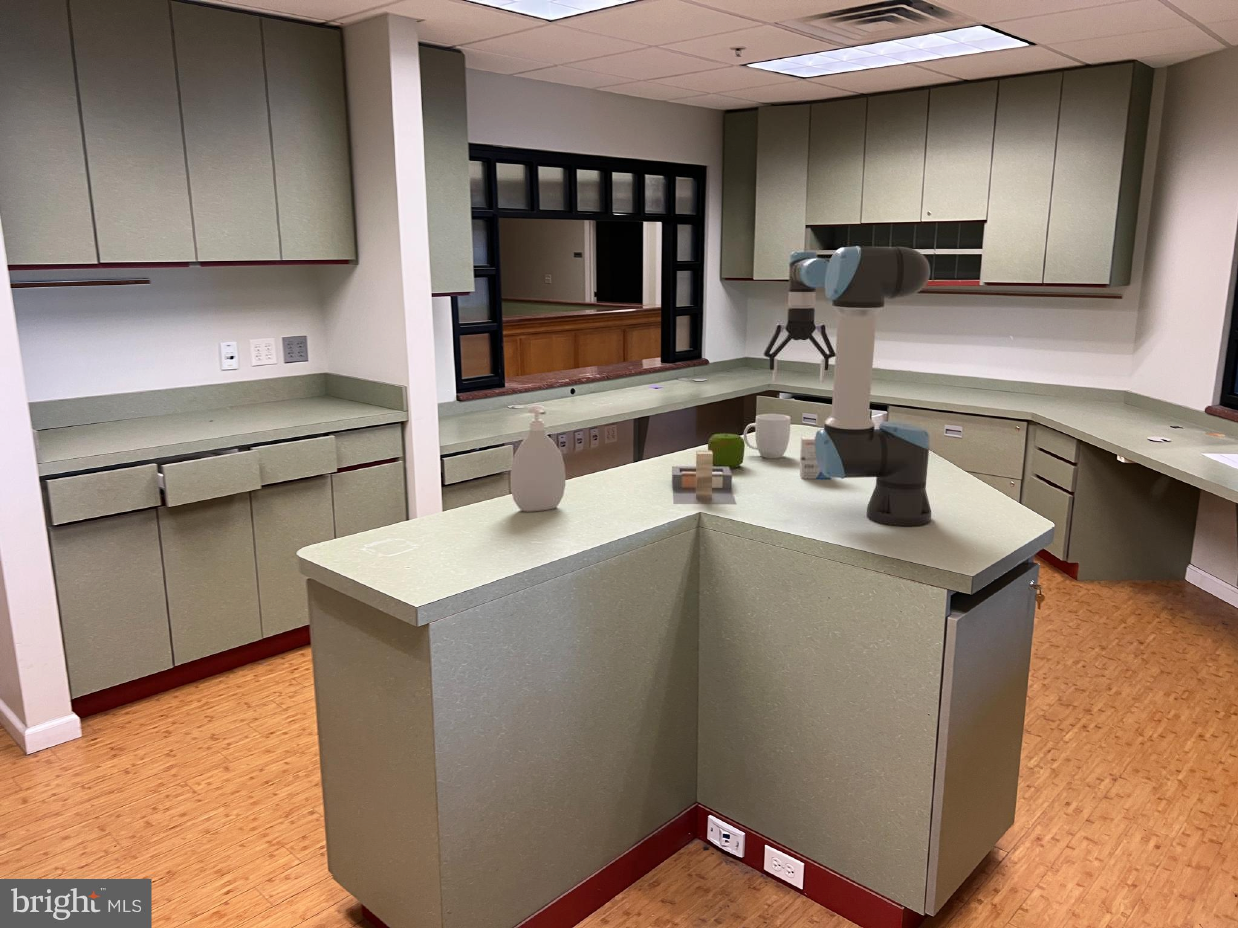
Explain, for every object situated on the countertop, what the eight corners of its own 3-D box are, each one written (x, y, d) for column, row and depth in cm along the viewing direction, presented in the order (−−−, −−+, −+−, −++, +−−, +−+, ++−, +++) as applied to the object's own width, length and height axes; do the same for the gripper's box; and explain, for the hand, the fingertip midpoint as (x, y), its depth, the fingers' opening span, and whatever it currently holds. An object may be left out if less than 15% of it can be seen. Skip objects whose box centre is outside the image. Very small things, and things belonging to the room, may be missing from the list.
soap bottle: (517, 517, 217) (514, 409, 211) (507, 509, 224) (504, 404, 218) (572, 510, 223) (570, 405, 217) (561, 502, 230) (559, 400, 224)
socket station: (736, 508, 224) (737, 487, 223) (673, 507, 225) (673, 487, 224) (728, 483, 250) (728, 464, 248) (671, 483, 250) (671, 464, 249)
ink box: (828, 475, 259) (830, 436, 257) (830, 479, 255) (832, 439, 252) (798, 474, 260) (800, 435, 258) (800, 478, 255) (802, 439, 253)
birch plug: (711, 498, 229) (712, 453, 226) (696, 498, 229) (697, 453, 227) (710, 494, 233) (711, 450, 230) (695, 494, 233) (696, 450, 230)
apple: (745, 463, 275) (747, 429, 272) (741, 471, 264) (742, 435, 262) (710, 461, 278) (711, 427, 275) (704, 469, 267) (705, 434, 265)
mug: (739, 457, 283) (740, 417, 280) (746, 451, 293) (747, 412, 290) (785, 461, 278) (787, 420, 275) (791, 454, 288) (793, 415, 285)
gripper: (843, 306, 253) (839, 380, 258) (756, 306, 255) (753, 379, 259) (848, 307, 246) (844, 383, 250) (758, 307, 247) (755, 382, 252)
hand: (798, 381), depth 255 cm, fingers open, 13 cm apart
